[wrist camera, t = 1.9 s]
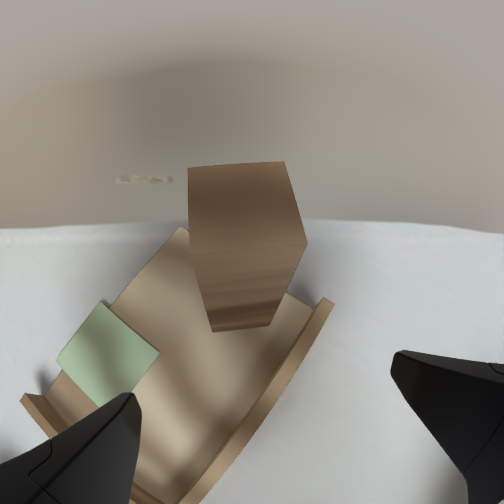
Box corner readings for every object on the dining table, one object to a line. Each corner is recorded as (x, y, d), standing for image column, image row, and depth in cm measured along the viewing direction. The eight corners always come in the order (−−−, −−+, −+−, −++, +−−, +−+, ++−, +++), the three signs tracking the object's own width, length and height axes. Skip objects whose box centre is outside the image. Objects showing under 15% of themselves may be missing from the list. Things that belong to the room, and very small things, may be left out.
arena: (176, 519, 15) (168, 536, 12) (35, 395, 18) (13, 392, 15) (322, 316, 24) (334, 303, 21) (173, 223, 27) (166, 201, 24)
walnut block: (269, 326, 23) (307, 243, 11) (212, 332, 22) (189, 254, 11) (260, 274, 25) (284, 161, 13) (207, 280, 24) (187, 167, 13)
